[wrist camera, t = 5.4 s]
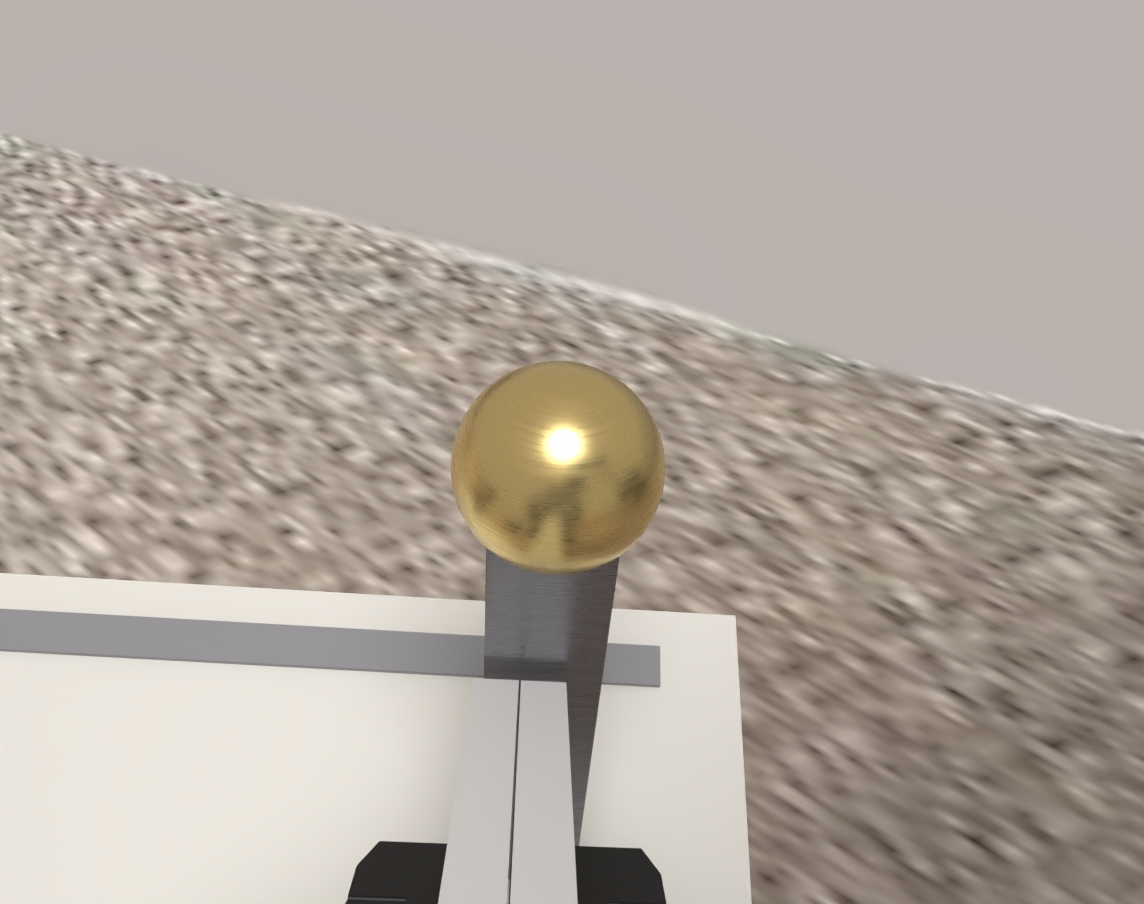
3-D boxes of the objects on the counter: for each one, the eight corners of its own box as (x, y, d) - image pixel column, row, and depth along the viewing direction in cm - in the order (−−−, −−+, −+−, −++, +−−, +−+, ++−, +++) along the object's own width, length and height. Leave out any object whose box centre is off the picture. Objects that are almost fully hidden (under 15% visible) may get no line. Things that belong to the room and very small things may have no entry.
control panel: (735, 1181, 20) (771, 1208, 18) (-390, 1138, 20) (-535, 1159, 17) (713, 653, 27) (736, 612, 24) (-143, 605, 26) (-220, 557, 23)
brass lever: (602, 921, 19) (688, 456, 12) (447, 914, 19) (435, 440, 12) (600, 783, 22) (670, 328, 14) (464, 776, 22) (462, 313, 14)
